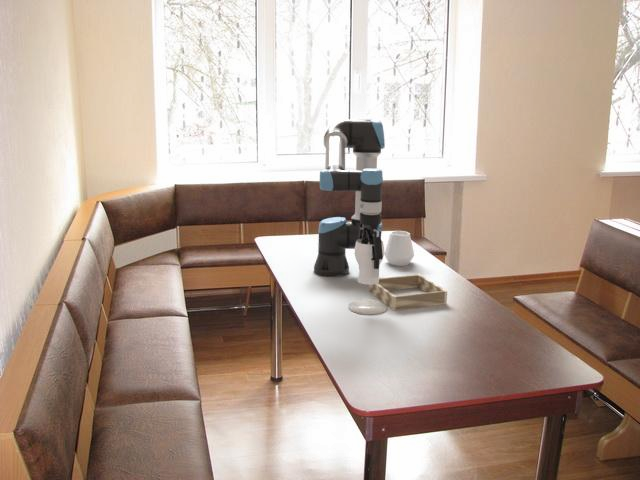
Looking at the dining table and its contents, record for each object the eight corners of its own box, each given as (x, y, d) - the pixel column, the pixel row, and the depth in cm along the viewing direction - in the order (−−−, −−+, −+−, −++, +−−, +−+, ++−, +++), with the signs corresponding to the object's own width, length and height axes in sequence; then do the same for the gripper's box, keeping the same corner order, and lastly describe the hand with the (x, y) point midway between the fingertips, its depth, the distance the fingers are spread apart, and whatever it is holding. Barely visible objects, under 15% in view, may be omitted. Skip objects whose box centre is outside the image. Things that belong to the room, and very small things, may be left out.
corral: (369, 291, 262) (369, 279, 260) (418, 286, 269) (419, 274, 268) (393, 310, 242) (393, 297, 240) (446, 304, 249) (447, 291, 248)
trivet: (342, 303, 248) (342, 302, 248) (377, 299, 252) (377, 298, 252) (357, 316, 235) (357, 314, 235) (393, 312, 240) (393, 310, 239)
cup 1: (381, 287, 235) (382, 246, 231) (351, 284, 237) (352, 244, 233) (384, 278, 245) (386, 238, 241) (356, 276, 247) (357, 237, 243)
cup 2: (418, 261, 303) (420, 232, 300) (405, 268, 292) (407, 238, 289) (392, 257, 310) (393, 228, 307) (378, 263, 299) (379, 233, 296)
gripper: (348, 207, 244) (347, 264, 249) (374, 220, 223) (372, 282, 228) (367, 206, 246) (365, 263, 252) (394, 218, 225) (391, 280, 231)
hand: (368, 272), depth 240 cm, fingers closed on cup 1, 11 cm apart
